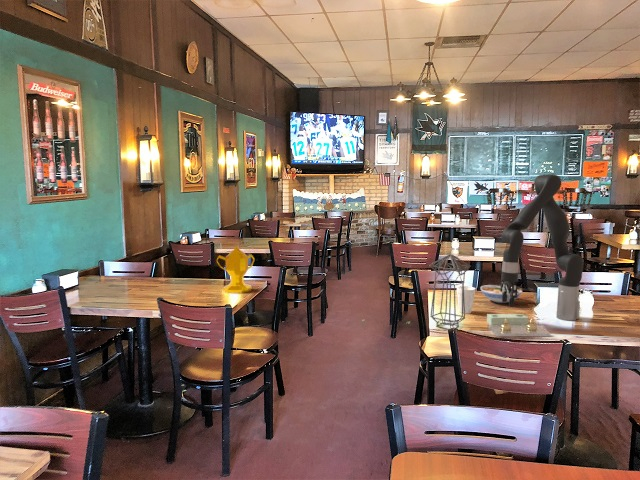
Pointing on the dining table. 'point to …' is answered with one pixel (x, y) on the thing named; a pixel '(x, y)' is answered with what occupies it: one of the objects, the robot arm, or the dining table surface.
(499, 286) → the ramen bowl
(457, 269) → the geometric lantern
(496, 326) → the board with brass pegs
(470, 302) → the foam cup
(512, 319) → the bar
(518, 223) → the robot arm
